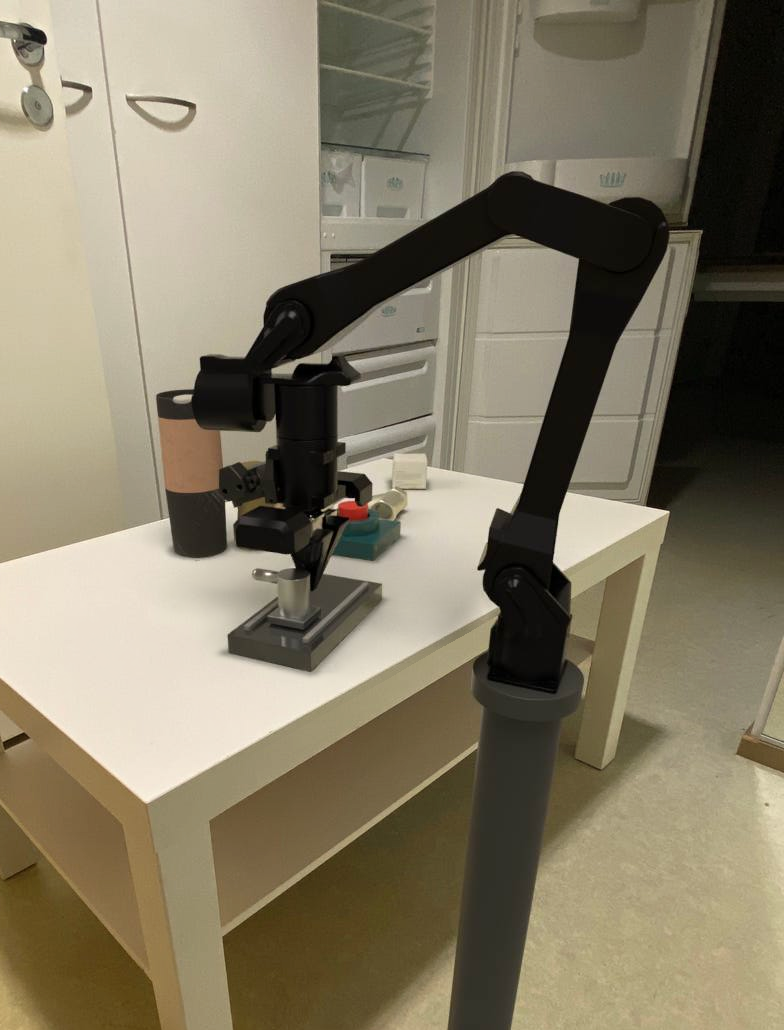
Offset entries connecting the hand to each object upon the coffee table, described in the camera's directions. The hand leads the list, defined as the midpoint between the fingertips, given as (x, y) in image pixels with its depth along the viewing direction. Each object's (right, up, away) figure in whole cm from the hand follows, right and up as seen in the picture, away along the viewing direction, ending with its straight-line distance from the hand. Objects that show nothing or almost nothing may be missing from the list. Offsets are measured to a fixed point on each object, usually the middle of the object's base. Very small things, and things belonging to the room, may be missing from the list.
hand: (310, 589), depth 74 cm
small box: (+17, +21, +50) cm, 57 cm away
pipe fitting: (+10, +13, +34) cm, 38 cm away
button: (+6, +11, +23) cm, 26 cm away
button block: (+6, +8, +24) cm, 26 cm away
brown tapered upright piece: (-7, +8, +25) cm, 27 cm away
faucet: (-3, -3, -1) cm, 4 cm away
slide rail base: (0, -4, +2) cm, 4 cm away
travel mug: (-15, +7, +24) cm, 29 cm away
